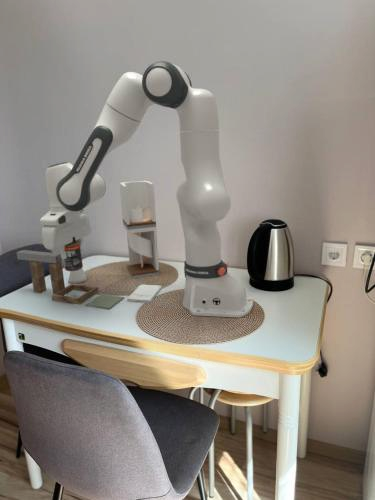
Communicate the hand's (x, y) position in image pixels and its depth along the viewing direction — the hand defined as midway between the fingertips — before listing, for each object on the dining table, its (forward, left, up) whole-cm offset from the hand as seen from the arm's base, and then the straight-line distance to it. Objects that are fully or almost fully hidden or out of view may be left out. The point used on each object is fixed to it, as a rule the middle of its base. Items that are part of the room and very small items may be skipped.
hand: (71, 254), depth 132 cm
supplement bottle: (0, 0, -5) cm, 5 cm away
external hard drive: (-22, -8, -16) cm, 28 cm away
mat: (-12, +1, -15) cm, 19 cm away
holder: (+6, 0, -15) cm, 16 cm away
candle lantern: (-11, -28, -15) cm, 33 cm away
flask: (+9, -13, -15) cm, 22 cm away
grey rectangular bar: (+14, 0, -3) cm, 14 cm away
